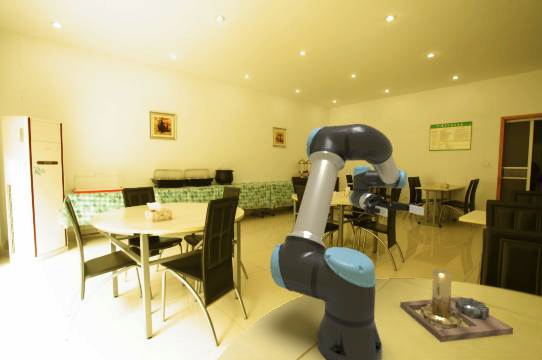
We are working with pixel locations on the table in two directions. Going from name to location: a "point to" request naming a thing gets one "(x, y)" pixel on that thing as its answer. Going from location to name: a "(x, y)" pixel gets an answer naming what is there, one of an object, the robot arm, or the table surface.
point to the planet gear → (441, 303)
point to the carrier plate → (476, 330)
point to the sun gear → (472, 308)
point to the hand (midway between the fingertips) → (404, 212)
